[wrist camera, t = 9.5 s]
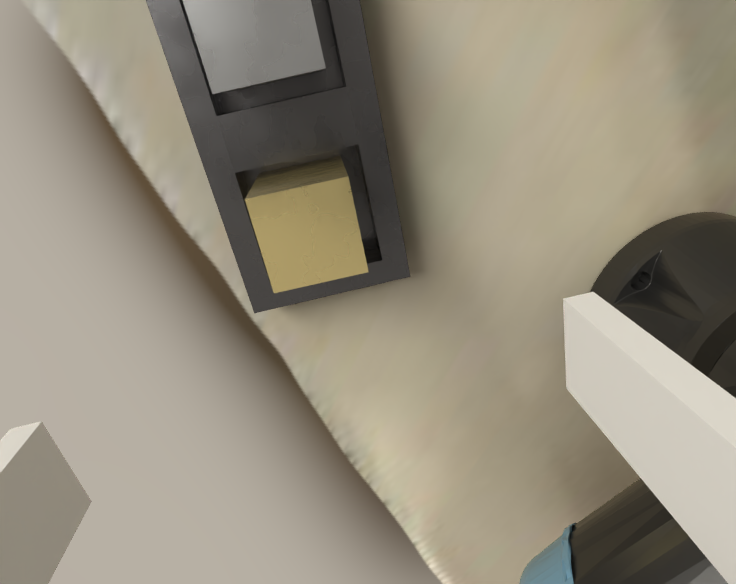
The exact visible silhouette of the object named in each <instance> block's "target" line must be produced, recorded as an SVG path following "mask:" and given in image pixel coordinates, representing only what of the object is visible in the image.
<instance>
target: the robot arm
mask: <svg viewBox="0 0 736 584" xmlns="http://www.w3.org/2000/svg"><path fill="white" fill-rule="evenodd" d="M563 309H564V336H565V362H566V388H567V390H568V391H569V392H570V393H571V394H572V396H573V397H574V398H575V399H576V400H577V402H578V403H579V404H580V405H581V407H582V408H583V409H584V410H585V411H586V413H587V414H588V415H589V416H590V417H591V419H592V420H593V421H594V422H595V423H596V425H597V426H598V427H599V428H600V429H601V431H602V432H603V433H604V434H605V435H606V437H607V438H608V439H609V440H610V442H611V443H612V444H613V445H614V446H615V448H616V449H617V450H618V451H619V452H620V454H621V455H622V456H623V457H624V458H625V460H626V461H627V462H628V463H629V464H630V466H631V467H632V468H633V469H634V470H635V472H636V473H637V474H638V475H639V477H640V478H641V479H639V480H638V481H636V482H635V483H634V484H632V485H631V486H629V487H628V488H626V489H625V490H624V491H622V492H621V493H619V494H618V495H617V496H615V497H614V498H612V499H611V500H609V501H608V502H607V503H605V504H604V505H602V506H601V507H600V508H598V509H597V510H595V511H594V512H593V513H591V514H590V515H588V516H587V517H585V518H584V519H583V520H581V521H580V522H578V523H573V524H571V525H569V526H568V527H567V528H565V529H564V532H563V535H562V536H561V537H559V538H558V539H557V540H556V541H554V542H553V543H552V544H551V545H549V546H548V547H547V548H546V549H544V550H543V551H542V552H541V553H539V554H538V555H537V556H536V557H534V558H533V559H532V560H531V561H530V562H529V563H528V564H527V566H526V567H525V569H524V571H523V573H522V576H521V579H520V583H519V584H736V217H734V216H731V215H727V214H722V213H715V212H700V213H692V214H686V215H682V216H678V217H675V218H672V219H669V220H667V221H664V222H662V223H660V224H658V225H656V226H654V227H652V228H650V229H648V230H646V231H645V232H643V233H642V234H640V235H639V236H637V237H636V238H634V239H633V240H632V241H630V242H629V243H628V244H627V245H626V246H624V247H623V248H622V249H621V250H620V251H619V252H618V253H617V254H616V255H615V256H614V257H613V258H612V259H611V261H610V262H609V263H608V264H607V265H606V267H605V268H604V269H603V271H602V272H601V274H600V275H599V277H598V278H597V280H596V282H595V283H594V285H593V287H592V289H591V291H590V293H585V294H581V295H577V296H573V297H568V298H564V299H563ZM90 503H91V500H90V498H89V497H88V495H87V493H86V492H85V490H84V489H83V487H82V485H81V484H80V482H79V481H78V479H77V477H76V476H75V474H74V473H73V471H72V469H71V468H70V466H69V465H68V463H67V462H66V460H65V458H64V457H63V455H62V453H61V452H60V450H59V449H58V447H57V445H56V444H55V442H54V441H53V439H52V437H51V436H50V434H49V433H48V431H47V429H46V428H45V426H44V425H43V423H42V422H37V423H33V424H29V425H25V426H21V427H16V428H12V429H10V430H9V431H8V432H7V434H6V435H5V436H4V437H3V438H2V439H1V440H0V584H48V583H49V581H50V579H51V577H52V575H53V573H54V571H55V570H56V568H57V566H58V564H59V562H60V560H61V558H62V556H63V554H64V553H65V551H66V549H67V547H68V545H69V543H70V541H71V539H72V537H73V536H74V533H75V532H76V530H77V527H78V526H79V524H80V522H81V520H82V518H83V517H84V514H85V513H86V511H87V509H88V507H89V505H90Z"/></svg>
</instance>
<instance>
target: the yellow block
mask: <svg viewBox="0 0 736 584" xmlns="http://www.w3.org/2000/svg"><path fill="white" fill-rule="evenodd" d="M245 202H246V205H247V208H248V211H249V215H250V218H251V221H252V224H253V228H254V231H255V234H256V237H257V241H258V244H259V247H260V250H261V253H262V257H263V260H264V263H265V266H266V270H267V273H268V276H269V279H270V283H271V286H272V289H273V292H274V293H278V292H283V291H287V290H291V289H296V288H300V287H305V286H309V285H314V284H318V283H323V282H327V281H332V280H336V279H340V278H345V277H349V276H354V275H358V274H363V273H367V272H368V267H367V262H366V257H365V253H364V248H363V243H362V238H361V234H360V229H359V224H358V220H357V215H356V210H355V205H354V201H353V196H352V191H351V187H350V182H349V177H348V174H347V172H346V169H345V167H344V164H343V161H342V159H341V156H340V155H339V156H335V157H330V158H326V159H321V160H316V161H312V162H307V163H303V164H298V165H294V166H289V167H285V168H280V169H275V170H271V171H266V172H262V173H259V175H258V176H257V178H256V180H255V182H254V184H253V185H252V187H251V189H250V191H249V193H248V194H247V196H246V198H245Z"/></svg>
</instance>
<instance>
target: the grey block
mask: <svg viewBox="0 0 736 584" xmlns="http://www.w3.org/2000/svg"><path fill="white" fill-rule="evenodd" d="M183 3H184V6H185V9H186V12H187V16H188V19H189V22H190V25H191V28H192V31H193V34H194V37H195V41H196V44H197V47H198V50H199V53H200V56H201V59H202V63H203V66H204V69H205V72H206V75H207V78H208V81H209V84H210V88H211V91H212V94H217V93H224V92H231V91H237V90H242V89H246V88H250V87H255V86H259V85H264V84H268V83H272V82H277V81H281V80H286V79H290V78H294V77H299V76H303V75H308V74H312V73H316V72H321V71H323V70H324V69H326V67H325V62H324V58H323V53H322V49H321V44H320V40H319V35H318V31H317V26H316V22H315V17H314V12H313V8H312V3H311V0H183Z"/></svg>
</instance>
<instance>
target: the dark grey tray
mask: <svg viewBox="0 0 736 584" xmlns="http://www.w3.org/2000/svg"><path fill="white" fill-rule="evenodd" d="M146 2H147V5H148V8H149V11H150V13H151V16H152V19H153V22H154V25H155V28H156V31H157V34H158V36H159V39H160V42H161V45H162V48H163V51H164V54H165V57H166V60H167V62H168V65H169V68H170V71H171V74H172V77H173V80H174V83H175V85H176V88H177V91H178V94H179V97H180V100H181V103H182V106H183V108H184V111H185V114H186V117H187V120H188V123H189V126H190V129H191V132H192V134H193V137H194V140H195V143H196V146H197V149H198V152H199V155H200V157H201V160H202V163H203V166H204V169H205V172H206V175H207V178H208V181H209V183H210V186H211V189H212V192H213V195H214V198H215V201H216V204H217V206H218V209H219V212H220V215H221V218H222V221H223V224H224V227H225V230H226V232H227V235H228V238H229V241H230V244H231V247H232V250H233V253H234V255H235V258H236V261H237V264H238V267H239V270H240V273H241V276H242V279H243V281H244V284H245V287H246V290H247V293H248V296H249V299H250V302H251V304H252V307H253V310H254V313H257V312H261V311H266V310H270V309H274V308H278V307H283V306H287V305H291V304H296V303H300V302H304V301H308V300H313V299H317V298H321V297H325V296H330V295H334V294H338V293H342V292H347V291H351V290H355V289H359V288H364V287H368V286H372V285H376V284H381V283H385V282H389V281H393V280H398V279H402V278H406V277H410V273H409V267H408V262H407V256H406V251H405V246H404V240H403V235H402V229H401V224H400V218H399V213H398V207H397V202H396V196H395V191H394V186H393V180H392V175H391V169H390V164H389V158H388V153H387V147H386V142H385V137H384V131H383V126H382V120H381V115H380V109H379V104H378V98H377V93H376V87H375V82H374V77H373V71H372V66H371V60H370V55H369V49H368V44H367V38H366V33H365V28H364V22H363V17H362V11H361V6H360V0H311V3H312V8H313V12H314V17H315V22H316V26H317V31H318V35H319V40H320V44H321V49H322V53H323V58H324V62H325V67H326V69H324V70H323V71H321V72H316V73H312V74H308V75H303V76H299V77H294V78H290V79H286V80H281V81H277V82H272V83H268V84H264V85H259V86H255V87H250V88H246V89H242V90H237V91H231V92H224V93H217V94H212V91H211V88H210V84H209V81H208V78H207V75H206V72H205V69H204V66H203V63H202V59H201V56H200V53H199V50H198V47H197V44H196V41H195V37H194V34H193V31H192V28H191V25H190V22H189V19H188V16H187V12H186V9H185V6H184V3H183V0H146ZM339 155H340V156H341V159H342V161H343V164H344V167H345V169H346V172H347V174H348V177H349V182H350V187H351V191H352V196H353V201H354V205H355V210H356V215H357V220H358V224H359V229H360V234H361V238H362V243H363V248H364V253H365V257H366V262H367V267H368V272H367V273H363V274H358V275H354V276H349V277H345V278H340V279H336V280H332V281H327V282H323V283H318V284H314V285H309V286H305V287H300V288H296V289H291V290H287V291H283V292H278V293H274V292H273V289H272V286H271V283H270V279H269V276H268V273H267V270H266V266H265V263H264V260H263V257H262V253H261V250H260V247H259V244H258V241H257V237H256V234H255V231H254V228H253V224H252V221H251V218H250V215H249V211H248V208H247V205H246V202H245V198H246V196H247V194H248V193H249V191H250V189H251V187H252V185H253V184H254V182H255V180H256V178H257V176H258V175H259V173H262V172H266V171H271V170H275V169H280V168H285V167H289V166H294V165H298V164H303V163H307V162H312V161H316V160H321V159H326V158H330V157H335V156H339Z"/></svg>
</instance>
